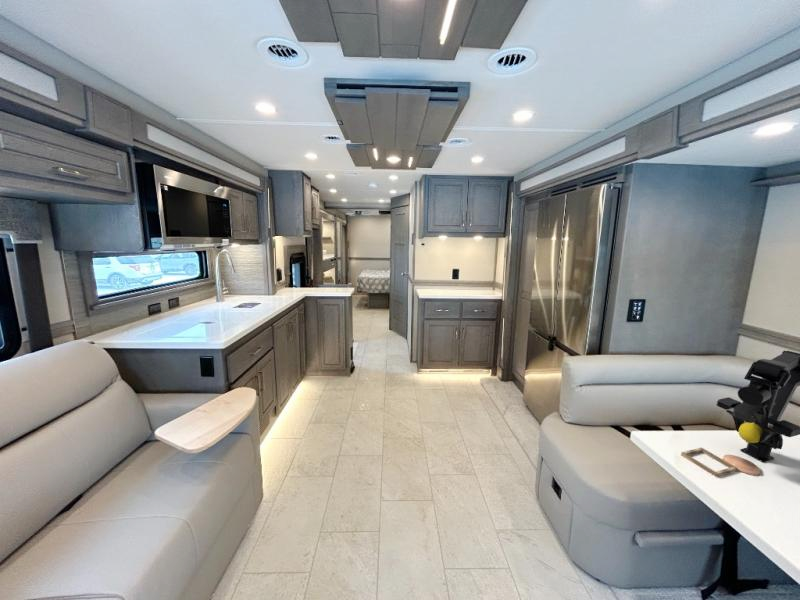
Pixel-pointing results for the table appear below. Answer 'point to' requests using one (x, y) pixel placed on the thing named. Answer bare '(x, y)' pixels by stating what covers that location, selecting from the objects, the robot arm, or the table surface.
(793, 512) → the table surface
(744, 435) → the lemon
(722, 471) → the wooden picture frame
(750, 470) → the saucer
